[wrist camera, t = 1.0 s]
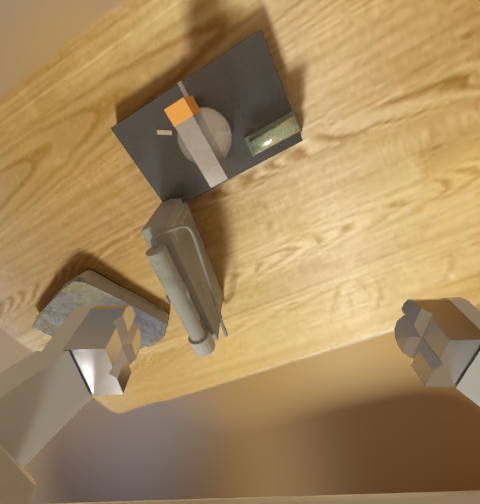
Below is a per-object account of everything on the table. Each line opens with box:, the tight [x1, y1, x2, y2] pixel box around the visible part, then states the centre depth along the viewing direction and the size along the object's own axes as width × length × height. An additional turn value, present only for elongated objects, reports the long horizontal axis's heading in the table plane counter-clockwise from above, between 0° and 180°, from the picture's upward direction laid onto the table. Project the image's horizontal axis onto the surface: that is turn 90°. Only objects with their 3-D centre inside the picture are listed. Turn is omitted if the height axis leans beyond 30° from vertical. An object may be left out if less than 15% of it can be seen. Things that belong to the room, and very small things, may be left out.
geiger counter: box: [141, 198, 228, 357], centre depth 39 cm, size 14×6×25 cm
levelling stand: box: [111, 30, 303, 203], centre depth 32 cm, size 20×12×5 cm, turn 118°
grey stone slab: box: [32, 270, 169, 350], centre depth 50 cm, size 20×5×17 cm
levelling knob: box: [164, 96, 232, 188], centre depth 29 cm, size 8×6×8 cm
